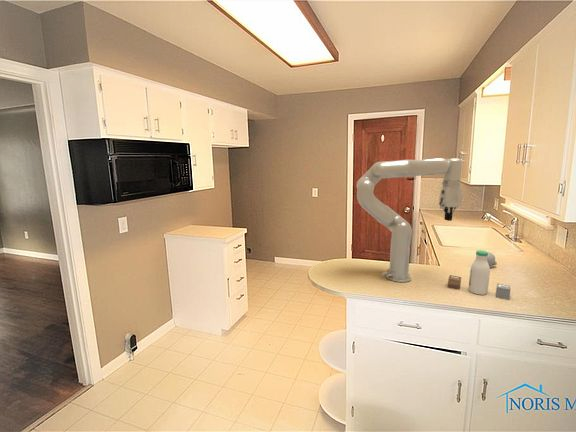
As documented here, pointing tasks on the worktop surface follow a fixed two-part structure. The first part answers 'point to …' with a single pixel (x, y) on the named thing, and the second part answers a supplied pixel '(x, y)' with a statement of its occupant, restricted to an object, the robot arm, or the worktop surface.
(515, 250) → the worktop surface
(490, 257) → the chubby cartoon animal
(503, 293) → the slate grey block
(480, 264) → the milk bottle
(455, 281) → the walnut block
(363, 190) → the robot arm
